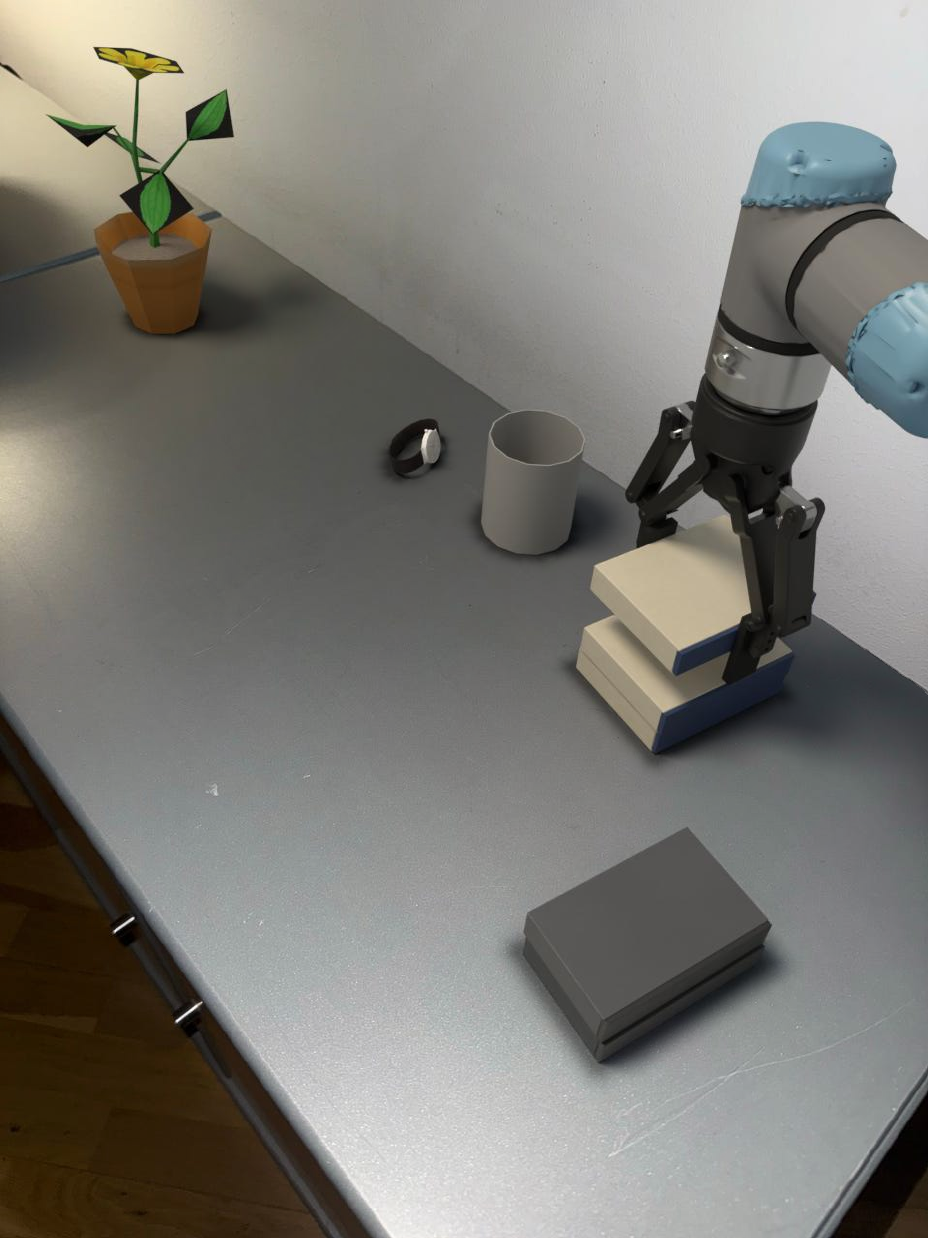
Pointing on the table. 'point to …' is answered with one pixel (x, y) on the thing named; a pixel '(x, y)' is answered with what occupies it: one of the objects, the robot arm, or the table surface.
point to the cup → (531, 481)
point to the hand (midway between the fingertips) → (690, 629)
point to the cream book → (680, 593)
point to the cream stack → (670, 685)
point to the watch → (428, 447)
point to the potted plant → (156, 213)
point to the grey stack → (643, 941)
